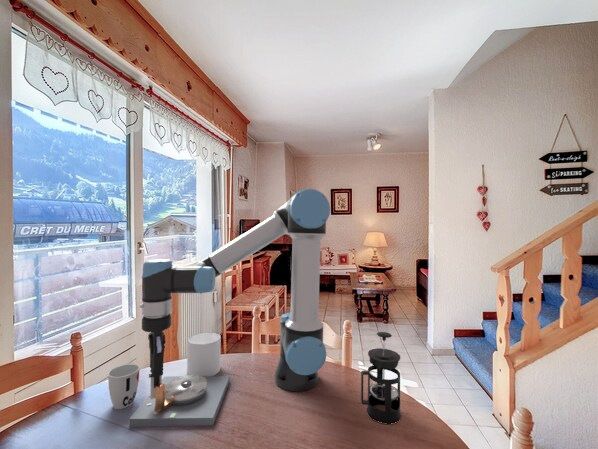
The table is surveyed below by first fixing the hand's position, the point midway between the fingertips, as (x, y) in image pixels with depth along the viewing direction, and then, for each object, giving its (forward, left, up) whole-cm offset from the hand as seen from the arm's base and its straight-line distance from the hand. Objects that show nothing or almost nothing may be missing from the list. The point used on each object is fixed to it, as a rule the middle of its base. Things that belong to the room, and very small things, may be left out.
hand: (155, 396), depth 83 cm
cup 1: (+11, -4, -5) cm, 13 cm away
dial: (-6, -4, -2) cm, 7 cm away
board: (-7, -5, -5) cm, 10 cm away
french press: (-65, +2, -5) cm, 65 cm away
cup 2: (-7, -24, -5) cm, 26 cm away
